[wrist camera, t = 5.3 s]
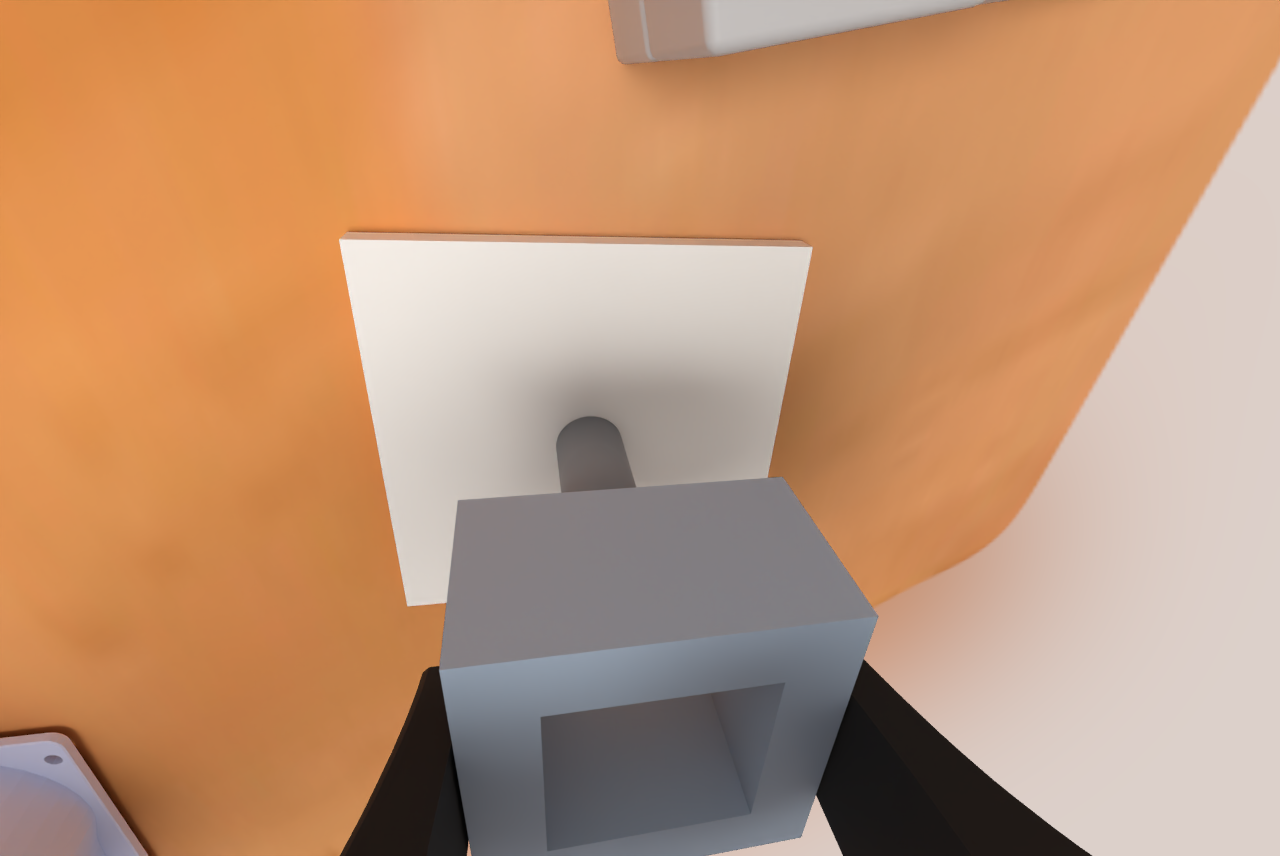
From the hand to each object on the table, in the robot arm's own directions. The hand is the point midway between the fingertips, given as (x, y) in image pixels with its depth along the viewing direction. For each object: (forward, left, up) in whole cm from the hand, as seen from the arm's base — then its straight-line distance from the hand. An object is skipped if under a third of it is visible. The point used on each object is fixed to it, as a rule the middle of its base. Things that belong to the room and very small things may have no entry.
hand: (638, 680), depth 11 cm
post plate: (0, 0, -9) cm, 9 cm away
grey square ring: (0, 0, -2) cm, 2 cm away
